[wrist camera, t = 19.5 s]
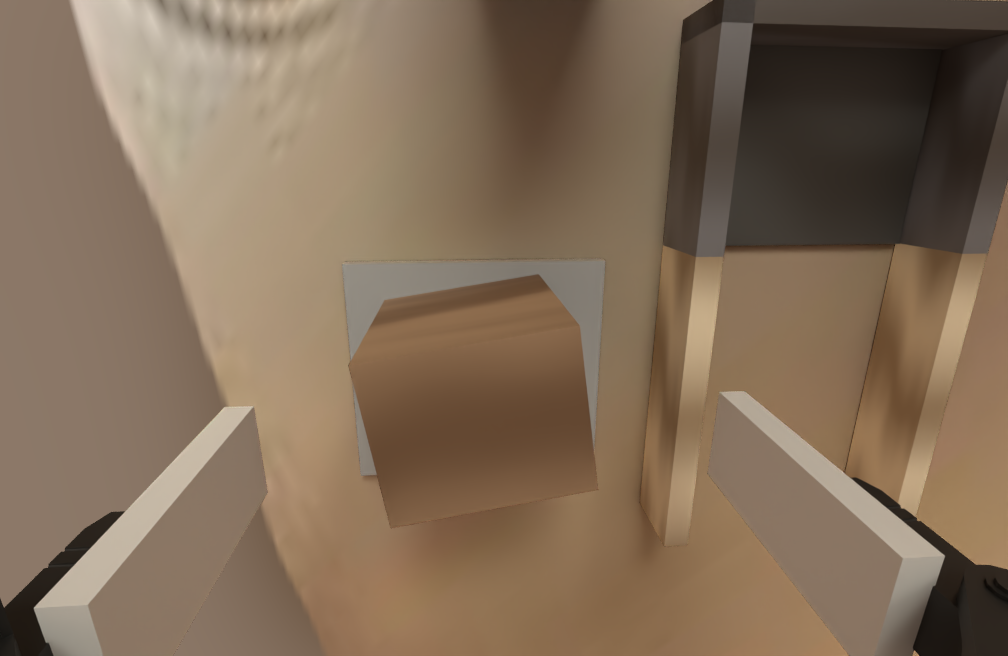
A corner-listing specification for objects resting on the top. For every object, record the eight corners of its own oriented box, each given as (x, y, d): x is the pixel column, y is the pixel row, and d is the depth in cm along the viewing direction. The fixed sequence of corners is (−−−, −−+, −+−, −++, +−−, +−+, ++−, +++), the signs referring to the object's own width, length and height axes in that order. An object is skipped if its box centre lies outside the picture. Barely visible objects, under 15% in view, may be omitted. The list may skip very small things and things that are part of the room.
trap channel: (683, 20, 18) (725, -8, 16) (967, 27, 19) (1056, 2, 17) (639, 502, 24) (664, 546, 21) (860, 491, 25) (911, 531, 22)
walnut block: (384, 300, 20) (348, 365, 13) (538, 273, 20) (579, 325, 13) (411, 416, 21) (390, 528, 15) (554, 391, 22) (598, 489, 15)
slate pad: (345, 261, 20) (341, 264, 19) (601, 258, 21) (605, 260, 20) (363, 467, 22) (360, 475, 22) (589, 457, 23) (593, 465, 23)
